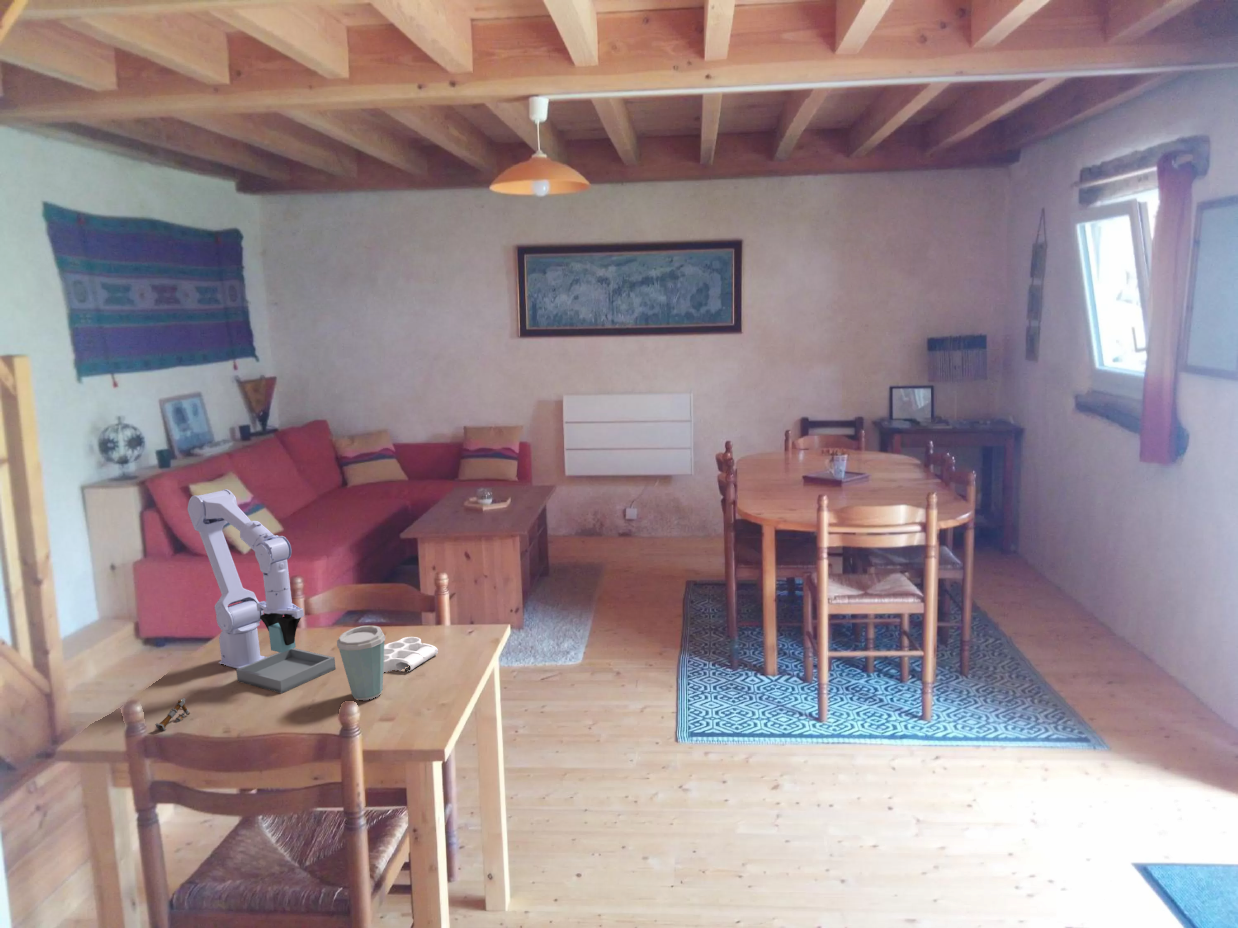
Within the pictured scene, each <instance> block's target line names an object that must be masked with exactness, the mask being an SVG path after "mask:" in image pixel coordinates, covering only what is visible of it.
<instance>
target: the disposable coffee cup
mask: <svg viewBox="0 0 1238 928" xmlns="http://www.w3.org/2000/svg"><path fill="white" fill-rule="evenodd" d="M386 639H387V638H386V635H385V634H384V632H383V630H382V629H381V627H380V626H377V625H361V626H357V627H354V628H350V629H348V630H347V631H344V632H343V633H341V634H340V636H339V637H338V639H337V640H336V646H337V648H338V650H339V653H340V657H341V660H342V661H341V662H342V663H343V667H344V671H345V676H346V679H347V681H348V682H347V683H348V686H349V689H350V691H351V695H352V697H353V698H354V700H355V699H358V700H357V701H359V700H363V701H369V699H370V700H374V699H376V698H379V697H380V696H381V695H382V691H383V689H384V673H383V667H384V645H385V641H386ZM380 694H381V695H380ZM379 695H380V696H379ZM375 697H376V698H375ZM373 698H374V699H373Z"/></svg>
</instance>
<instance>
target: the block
mask: <svg viewBox="0 0 1238 928" xmlns="http://www.w3.org/2000/svg"><path fill="white" fill-rule="evenodd" d="M268 628H269V631H268V636H269V644H270V645H269V646H270V650H271V652H272V651H274V652H276V653H278V652H281V653H283V652H285V651H288V650H290V649H293V648H296V647H297V646H296V639H295V640H294V643H293V644H290V645H285V642H284V638H283V633H282V630H281V627H280V625H279V623H276V624H273V625H271V626H268Z"/></svg>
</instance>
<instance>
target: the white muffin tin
mask: <svg viewBox="0 0 1238 928" xmlns="http://www.w3.org/2000/svg"><path fill="white" fill-rule="evenodd" d="M437 654H439V649H438V648H437V647H436V646H435V645H433V644H429V643H424V642H423V643H422V639H421V638H420V637H417V636H406V637H402V638H401V639H399V640H395V641H393V642H388V643H386V644H384V667H383V674H385V673H384V672H386V673H388V672H387V671H389V672H393V671H392V670H395V671H397V670H399V671H398V672H401V670H402V669H405V667H408V666H409V665H410V667H408V668H409V669H410V670H409V669H408V670H409V672H411V671H412V670H414V669H415V668H416V667H418V666H420V665H421V664H424V663H425V662H426V661H428V660H429V659H431V658H433V657H435V656H436V655H437ZM409 672H408V671H407V672H406V673H409Z"/></svg>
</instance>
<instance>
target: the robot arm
mask: <svg viewBox="0 0 1238 928" xmlns="http://www.w3.org/2000/svg"><path fill="white" fill-rule="evenodd" d="M187 505H188V506H187V513H188V515H189V518H190V521H191V523H192V527H193V529H194V531H197V532H198V534H199V536H200V539H201V540H202V544H203V546H204V549H205V552H206V555H207V557H208V562H209V564H210V565H211V570H212V572H213V575H214V577H215V579H216V583H217V585H218V588H219V592H220V593H221V596H220V597H219V599H218V600H217V602H216V603H215V604H214V610H215V615H216V617H215V619H216V623H217V625H218V627H219V629H220V630H221V632H220V635H219V637H218V638H219V640H218V641H219V649H220V658H221V659H220V661H219V662H218V664H219V663H220V664H219V665H221V664H224V665H223V666H225V665H226V667H229V668H233V669H236V670H237V669H239V668H242V667H244V666H246V665H249V664H251V663H254V662H256V661H259V660H261V659H264V658H266V657H267V656H264V655H261V651H260V650H261V649H260V641H259V632H258V627H260V622H263V624H264V626H265V627H266V628H267V629H266V630H267V631H268V632H269V628H268V626H271V625H273V624H276V623H279V625H280V627H281V630H282V633H283V638H284V642H285V645H290V644H293V643H294V640H295V641H296V632H297V629H298V625H299V623H300V621H301V618H304V616H305V615H304V608H301V607H299V606H297V605H296V604H294V603H293V600H292V592H291V583H290V582H291V581H290V574H289V573H290V572H289V563H288V560H289V559H290V558H291V556H292V551H293V550H292V545H291V543H290V541H289V540H288V538H287V537H285V536H283V535H277V534H276V535H275V534H274V533H272V531H270V530H269V529H268V528H267V527H266V526H264V525H263V524H262V523H261V522H260V521H258V520H251V519H250V517H248V516H247V515H246V513H244V511H243V510H242V509H241V508H240V507H239V505H238V502H237V498H236V496H235V494H234V493H233V492H232V491H231V490H229V489H227V488H226V489H222V490H218V491H213V492H210V493H208V492H207V493H205V494H199V495H192V496H191V497H190V499H189V500H188V504H187ZM228 523H229V525H231V526H232V527H234V528H235V529H236V530H237V531H239V537H240V539H241V541H242V542H243V543H245V544H246V545H247V546H248V547H249V548H250V549H252V551H253V552H254V555H255V559H256V561H257V562H258V564H259V570H260V572H261V573H262V575H263V577H262V578H263V584H264V585H263V587H264V595H265V600H262V601H259V600H258V598H257V596H256V594H255V592H254V591H252V590H249V589H247V588H244V587H243V584H242V581H241V579H240V575H239V573H238V570H237V567H236V564H235V562H234V560H233V556H232V554H231V550H230V548H229V545H228V543H227V541H226V537H225V535H224V532H223V529H224V526H225V525H227V524H228Z"/></svg>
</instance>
